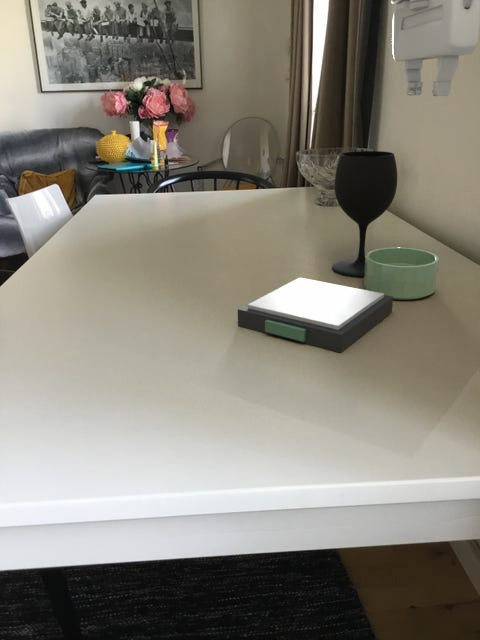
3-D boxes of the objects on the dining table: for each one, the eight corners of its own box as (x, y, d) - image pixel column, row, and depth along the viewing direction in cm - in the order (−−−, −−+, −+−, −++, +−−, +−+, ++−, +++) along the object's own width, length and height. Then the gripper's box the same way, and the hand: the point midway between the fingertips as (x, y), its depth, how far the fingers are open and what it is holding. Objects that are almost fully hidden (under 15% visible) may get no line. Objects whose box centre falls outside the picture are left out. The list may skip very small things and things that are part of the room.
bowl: (444, 286, 92) (448, 253, 90) (420, 306, 84) (423, 271, 82) (380, 275, 98) (383, 244, 96) (352, 293, 90) (354, 260, 88)
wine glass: (360, 281, 95) (367, 159, 87) (319, 267, 103) (322, 154, 96) (403, 270, 100) (412, 153, 93) (361, 257, 108) (367, 149, 101)
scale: (392, 312, 82) (393, 292, 81) (338, 355, 70) (339, 331, 69) (297, 293, 91) (297, 274, 90) (235, 327, 79) (234, 306, 78)
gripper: (502, -39, 63) (485, 95, 68) (430, -10, 81) (421, 94, 87) (447, -38, 62) (434, 97, 67) (387, -9, 81) (380, 95, 86)
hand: (426, 95), depth 77 cm, fingers open, 8 cm apart
